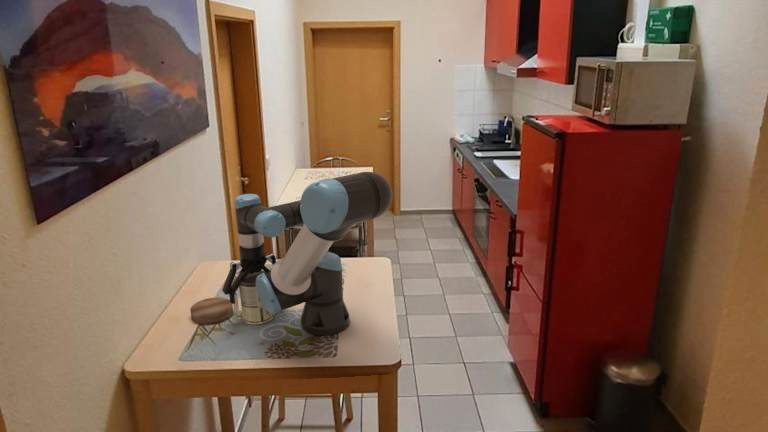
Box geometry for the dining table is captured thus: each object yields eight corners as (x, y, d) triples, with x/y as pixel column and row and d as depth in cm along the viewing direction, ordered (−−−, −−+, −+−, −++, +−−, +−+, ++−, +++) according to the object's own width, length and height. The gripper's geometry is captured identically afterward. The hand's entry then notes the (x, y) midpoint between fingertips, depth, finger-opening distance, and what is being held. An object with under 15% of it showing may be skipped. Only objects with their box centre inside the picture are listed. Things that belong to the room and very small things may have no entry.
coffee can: (248, 309, 176) (244, 269, 172) (278, 310, 175) (275, 270, 171) (237, 324, 166) (232, 283, 162) (269, 325, 165) (265, 284, 161)
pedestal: (238, 317, 171) (237, 308, 170) (197, 328, 164) (195, 319, 163) (226, 302, 181) (225, 294, 180) (187, 312, 175) (186, 303, 174)
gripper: (284, 233, 173) (289, 292, 179) (207, 248, 160) (215, 312, 166) (294, 239, 167) (298, 300, 173) (214, 256, 154) (222, 321, 160)
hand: (257, 306), depth 170 cm, fingers open, 13 cm apart
